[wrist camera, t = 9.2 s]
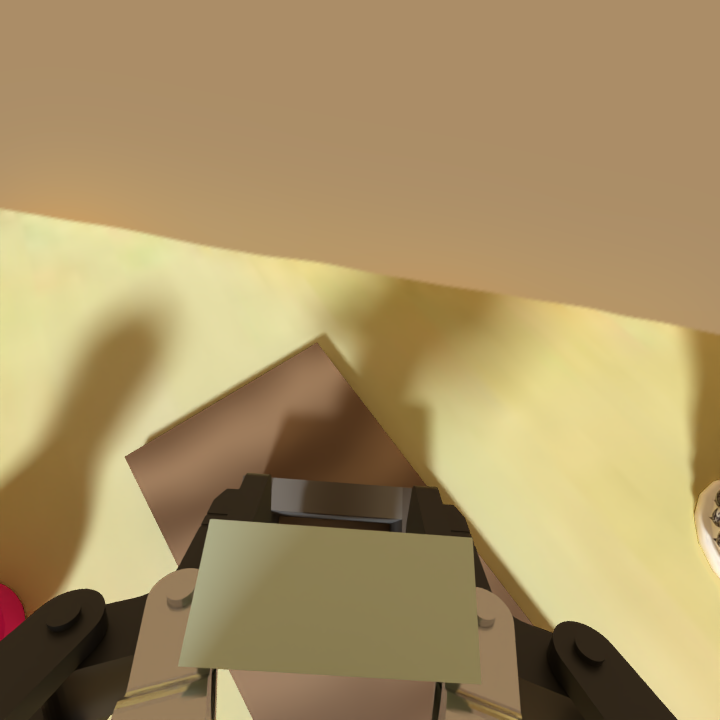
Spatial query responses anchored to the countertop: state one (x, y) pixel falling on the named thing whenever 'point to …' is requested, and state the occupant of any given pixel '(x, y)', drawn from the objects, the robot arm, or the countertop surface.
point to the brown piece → (294, 506)
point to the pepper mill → (9, 611)
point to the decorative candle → (709, 524)
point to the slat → (334, 603)
